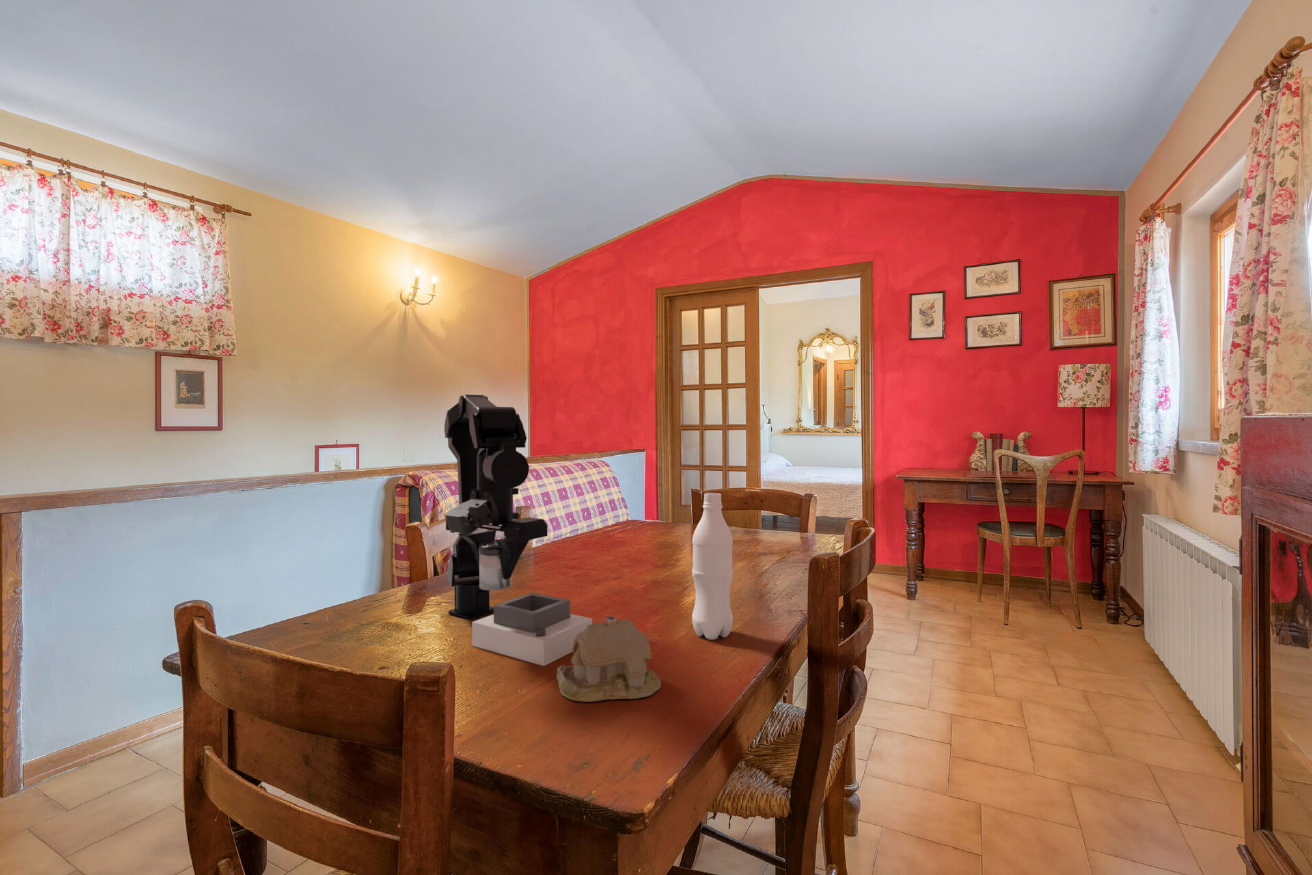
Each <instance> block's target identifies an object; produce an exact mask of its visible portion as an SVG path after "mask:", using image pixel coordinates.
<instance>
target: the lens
mask: <svg viewBox="0 0 1312 875" xmlns="http://www.w3.org/2000/svg"><path fill="white" fill-rule="evenodd" d="M511 581H512V576H511V577H510V579H507V580H505V579H504V578H503V571H502V555H501V548H500V547H499V545H498V544H497V543H496V542H495V541H491V542H484V543H481V544H479V587H480V589H483V590H489V591H500V590H505V589H508V588H510V587H511V585H512V583H511Z"/></svg>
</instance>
